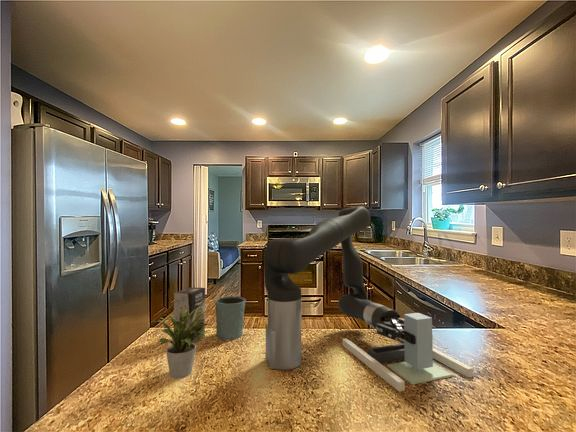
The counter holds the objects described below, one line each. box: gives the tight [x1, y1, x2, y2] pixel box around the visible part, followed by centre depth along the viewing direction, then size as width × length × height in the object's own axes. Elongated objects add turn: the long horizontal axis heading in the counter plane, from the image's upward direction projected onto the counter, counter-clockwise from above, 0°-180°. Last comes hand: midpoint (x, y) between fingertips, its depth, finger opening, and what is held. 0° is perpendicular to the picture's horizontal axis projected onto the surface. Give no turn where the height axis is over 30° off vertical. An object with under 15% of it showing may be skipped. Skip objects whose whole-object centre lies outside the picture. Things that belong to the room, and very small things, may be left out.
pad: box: [386, 361, 453, 385], centre depth 72 cm, size 12×9×1 cm
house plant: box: [152, 306, 211, 379], centre depth 70 cm, size 14×14×16 cm
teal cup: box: [214, 295, 246, 341], centre depth 97 cm, size 10×10×12 cm
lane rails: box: [342, 338, 474, 392], centre depth 79 cm, size 22×26×2 cm
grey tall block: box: [403, 312, 434, 370], centre depth 72 cm, size 5×5×12 cm
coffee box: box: [172, 287, 206, 344], centre depth 93 cm, size 9×6×16 cm
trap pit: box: [367, 342, 405, 364], centre depth 80 cm, size 16×4×2 cm, turn 107°
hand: (423, 339), depth 71 cm, fingers closed on grey tall block, 4 cm apart
